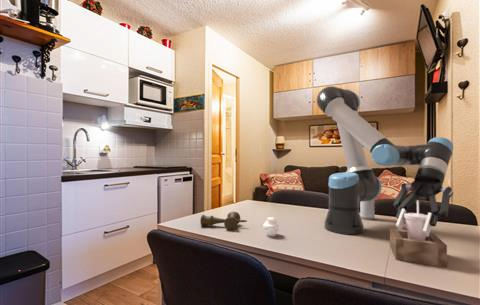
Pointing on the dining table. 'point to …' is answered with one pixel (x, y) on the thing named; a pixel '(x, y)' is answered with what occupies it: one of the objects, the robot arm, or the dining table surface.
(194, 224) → the dining table surface
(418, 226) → the smoothie
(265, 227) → the white vase
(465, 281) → the dining table surface
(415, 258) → the brown open square box
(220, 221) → the kendama
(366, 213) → the travel mug
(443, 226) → the dining table surface
